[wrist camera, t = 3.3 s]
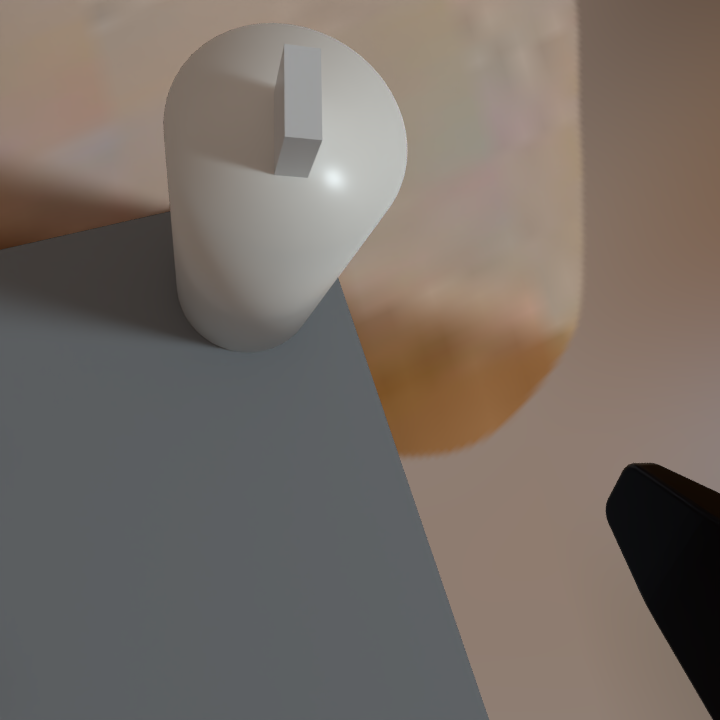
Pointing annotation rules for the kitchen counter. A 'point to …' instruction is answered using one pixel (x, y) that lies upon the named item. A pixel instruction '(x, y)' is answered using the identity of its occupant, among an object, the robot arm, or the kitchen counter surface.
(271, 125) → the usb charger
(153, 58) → the kitchen counter surface
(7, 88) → the kitchen counter surface
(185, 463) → the desk mat
